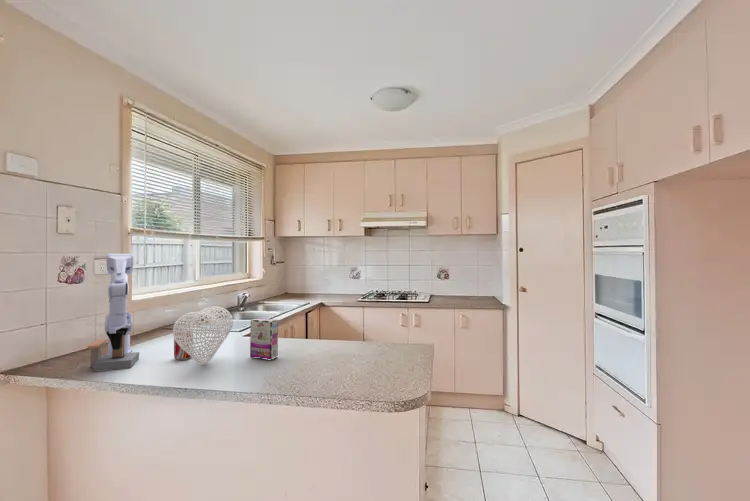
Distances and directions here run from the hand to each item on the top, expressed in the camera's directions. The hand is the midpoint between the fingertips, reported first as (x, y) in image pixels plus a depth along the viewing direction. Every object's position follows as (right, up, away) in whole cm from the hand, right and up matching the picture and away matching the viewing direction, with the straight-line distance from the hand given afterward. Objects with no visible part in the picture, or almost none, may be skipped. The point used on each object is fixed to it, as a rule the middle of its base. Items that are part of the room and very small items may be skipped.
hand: (117, 348), depth 146 cm
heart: (+33, -7, +2) cm, 34 cm away
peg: (0, -3, 0) cm, 3 cm away
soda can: (+21, -7, +10) cm, 24 cm away
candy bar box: (+54, -8, +13) cm, 56 cm away
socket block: (-1, -7, 0) cm, 7 cm away
